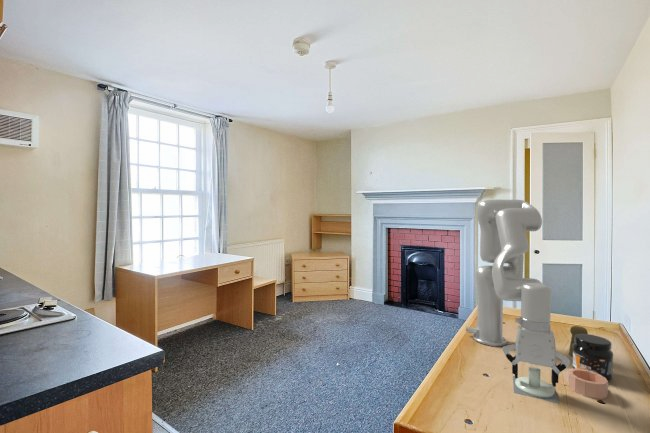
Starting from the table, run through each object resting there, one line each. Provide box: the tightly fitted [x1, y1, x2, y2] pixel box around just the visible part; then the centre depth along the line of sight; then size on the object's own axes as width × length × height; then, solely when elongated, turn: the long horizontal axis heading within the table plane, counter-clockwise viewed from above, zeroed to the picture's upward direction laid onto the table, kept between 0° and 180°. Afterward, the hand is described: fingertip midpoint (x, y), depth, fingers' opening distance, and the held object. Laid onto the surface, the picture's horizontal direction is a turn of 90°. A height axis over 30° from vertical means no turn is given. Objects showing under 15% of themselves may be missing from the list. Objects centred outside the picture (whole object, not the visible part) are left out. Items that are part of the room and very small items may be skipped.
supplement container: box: [571, 333, 614, 382], centre depth 108 cm, size 10×10×12 cm
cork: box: [568, 325, 589, 358], centre depth 122 cm, size 6×6×11 cm
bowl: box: [566, 367, 609, 400], centre depth 98 cm, size 9×9×5 cm
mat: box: [512, 375, 560, 404], centre depth 98 cm, size 11×11×1 cm
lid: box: [515, 366, 555, 398], centre depth 98 cm, size 10×10×6 cm
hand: (534, 380), depth 98 cm, fingers open, 9 cm apart
